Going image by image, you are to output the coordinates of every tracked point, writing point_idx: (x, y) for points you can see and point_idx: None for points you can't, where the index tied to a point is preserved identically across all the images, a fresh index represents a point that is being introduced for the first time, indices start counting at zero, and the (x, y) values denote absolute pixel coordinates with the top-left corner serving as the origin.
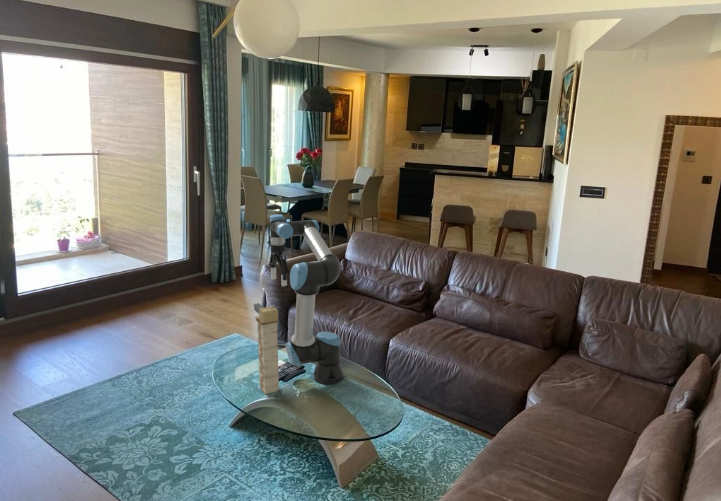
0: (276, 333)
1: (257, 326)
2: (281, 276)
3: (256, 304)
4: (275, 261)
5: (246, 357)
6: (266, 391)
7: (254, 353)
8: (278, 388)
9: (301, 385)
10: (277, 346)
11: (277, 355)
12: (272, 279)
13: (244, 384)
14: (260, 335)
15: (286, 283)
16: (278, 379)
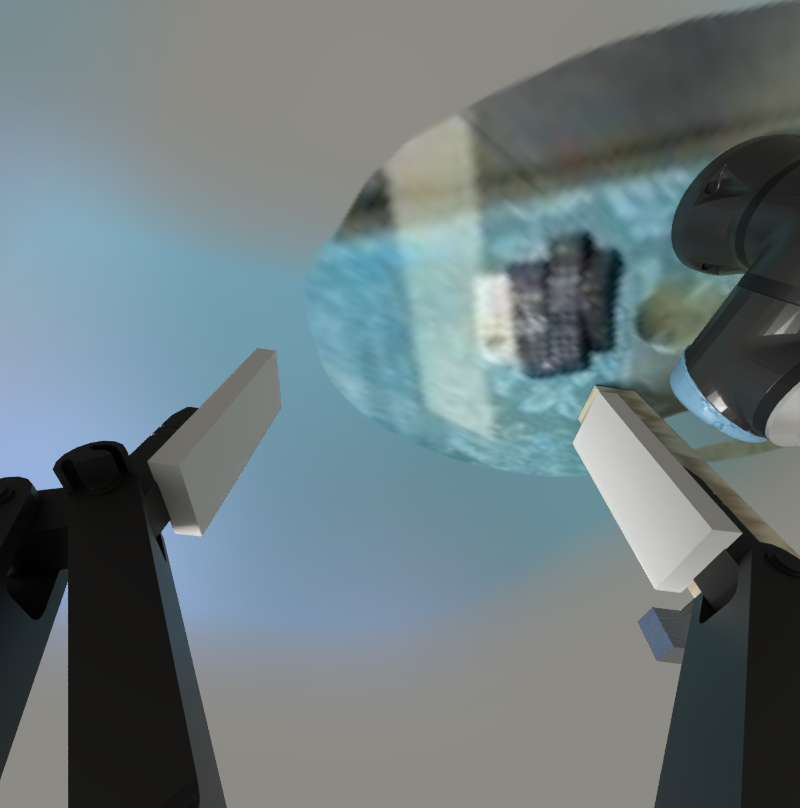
0: (782, 544)
1: (693, 595)
2: (638, 550)
3: (676, 658)
4: (201, 732)
5: (384, 358)
6: None
7: (371, 324)
8: (637, 395)
9: (674, 325)
10: (735, 493)
11: (707, 466)
12: (280, 400)
13: (528, 433)
14: None
15: (629, 414)
16: (653, 410)
